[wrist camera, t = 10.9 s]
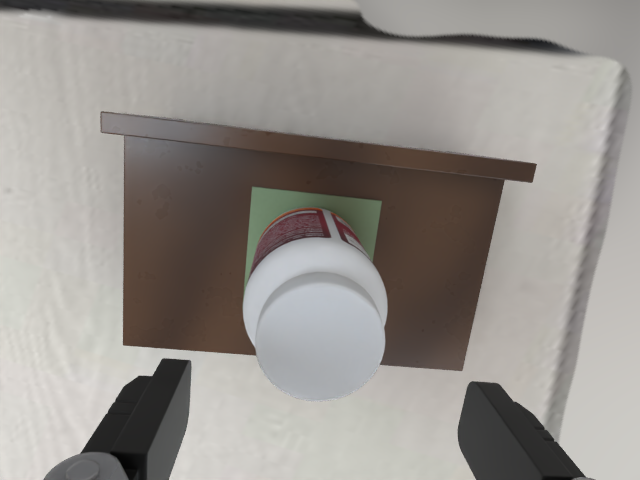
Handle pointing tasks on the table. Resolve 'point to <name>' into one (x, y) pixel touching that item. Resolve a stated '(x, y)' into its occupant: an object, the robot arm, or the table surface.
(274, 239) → the pill bottle
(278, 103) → the table surface
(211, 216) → the shelf
